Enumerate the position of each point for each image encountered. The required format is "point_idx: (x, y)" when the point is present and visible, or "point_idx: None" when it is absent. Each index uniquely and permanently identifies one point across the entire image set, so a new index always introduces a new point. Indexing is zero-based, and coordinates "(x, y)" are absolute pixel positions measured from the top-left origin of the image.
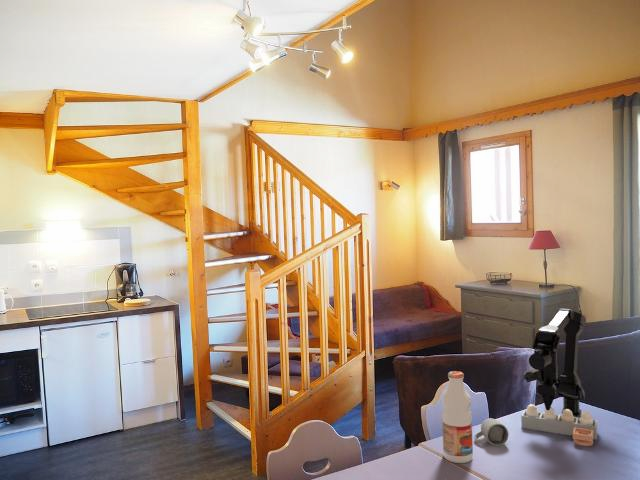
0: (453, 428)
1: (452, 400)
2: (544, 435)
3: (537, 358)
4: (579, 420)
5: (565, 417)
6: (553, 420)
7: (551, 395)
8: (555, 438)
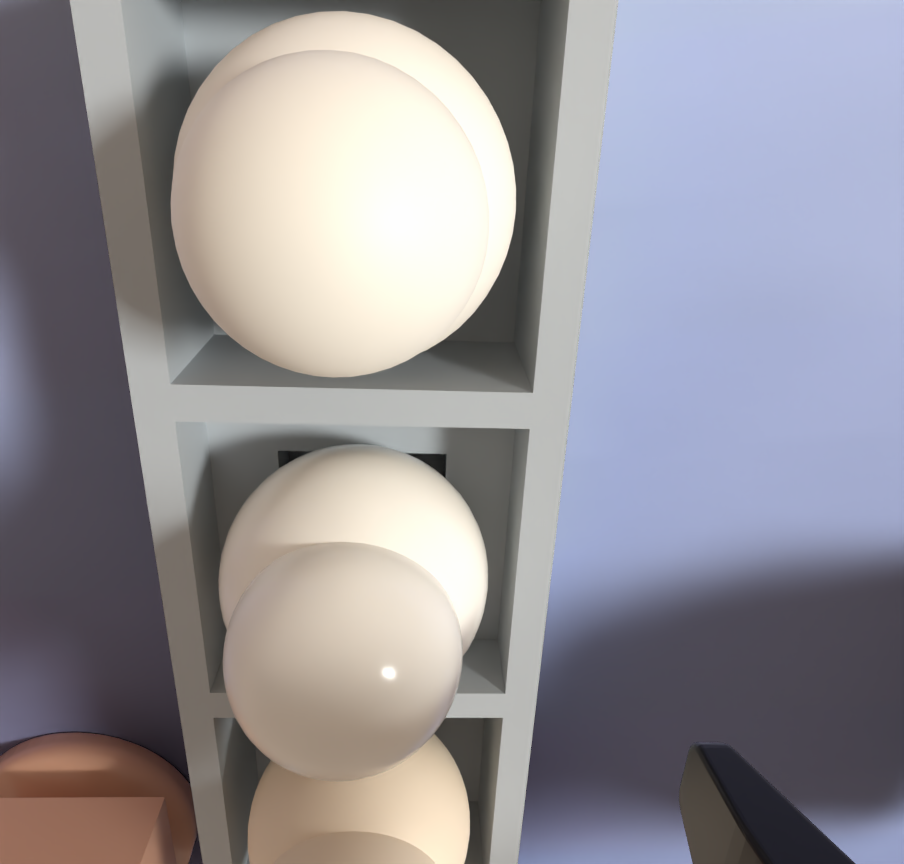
0: None
1: None
2: (39, 405)
3: None
4: None
5: (252, 856)
6: (172, 645)
7: None
8: (23, 550)
